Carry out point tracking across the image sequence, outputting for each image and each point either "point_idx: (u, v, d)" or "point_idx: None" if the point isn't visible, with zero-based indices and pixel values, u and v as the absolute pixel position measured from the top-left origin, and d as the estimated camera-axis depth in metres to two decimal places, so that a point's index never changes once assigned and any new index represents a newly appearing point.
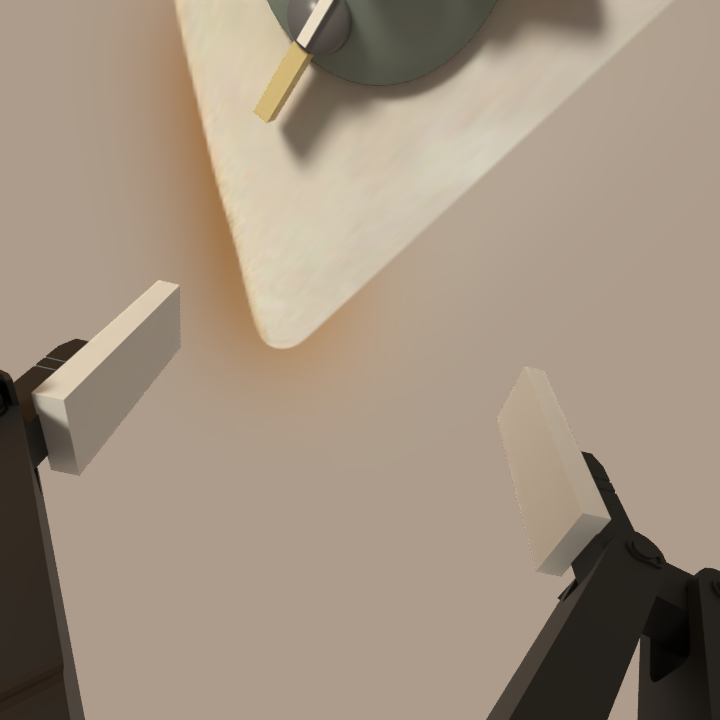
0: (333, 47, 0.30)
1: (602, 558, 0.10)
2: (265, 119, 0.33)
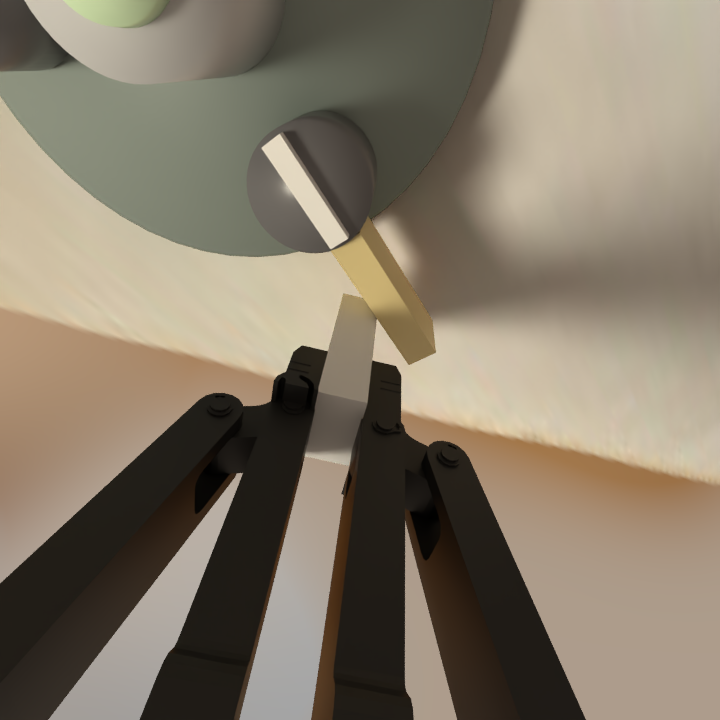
0: (367, 176, 0.14)
1: (360, 449, 0.11)
2: (429, 351, 0.17)
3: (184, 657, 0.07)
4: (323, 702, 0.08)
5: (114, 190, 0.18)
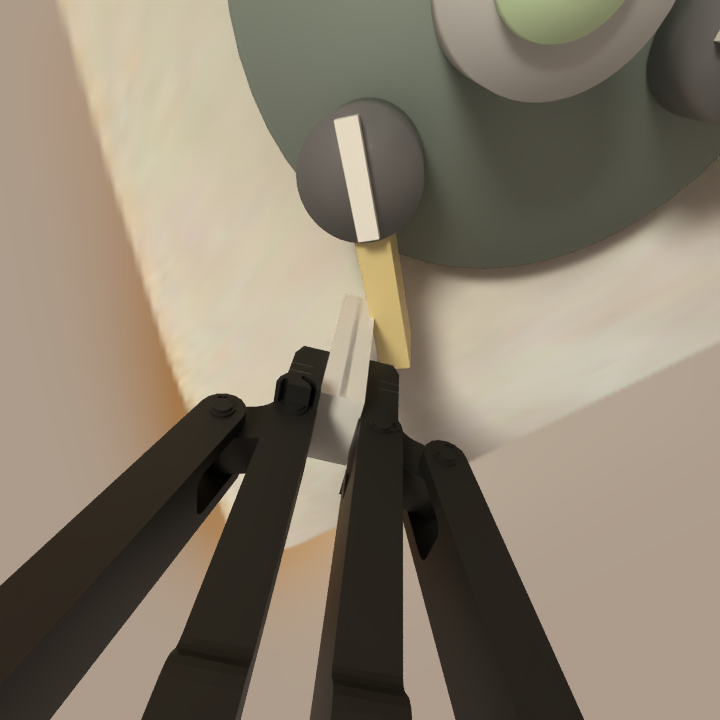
0: (420, 190, 0.14)
1: (357, 449, 0.11)
2: (404, 365, 0.18)
3: (186, 657, 0.07)
4: (322, 702, 0.08)
5: None
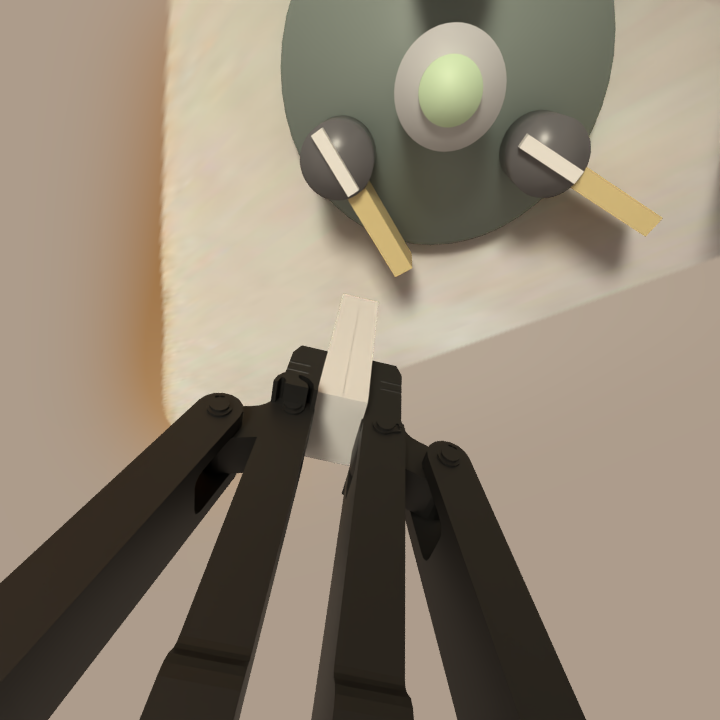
0: (370, 153, 0.24)
1: (360, 449, 0.11)
2: (408, 267, 0.28)
3: (184, 657, 0.07)
4: (323, 702, 0.08)
5: None
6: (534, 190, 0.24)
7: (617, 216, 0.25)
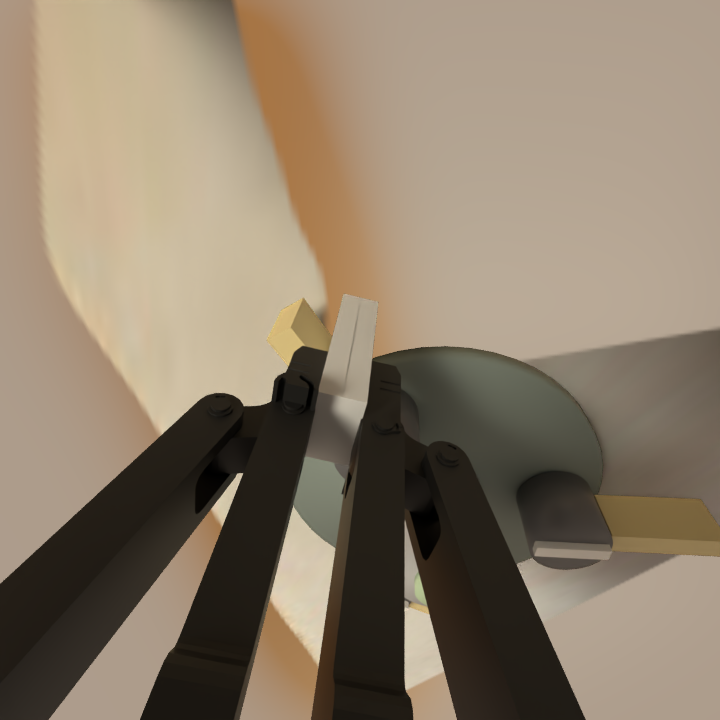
0: None
1: (359, 449, 0.11)
2: None
3: (184, 657, 0.07)
4: (323, 702, 0.08)
5: None
6: (570, 566, 0.23)
7: (674, 553, 0.23)
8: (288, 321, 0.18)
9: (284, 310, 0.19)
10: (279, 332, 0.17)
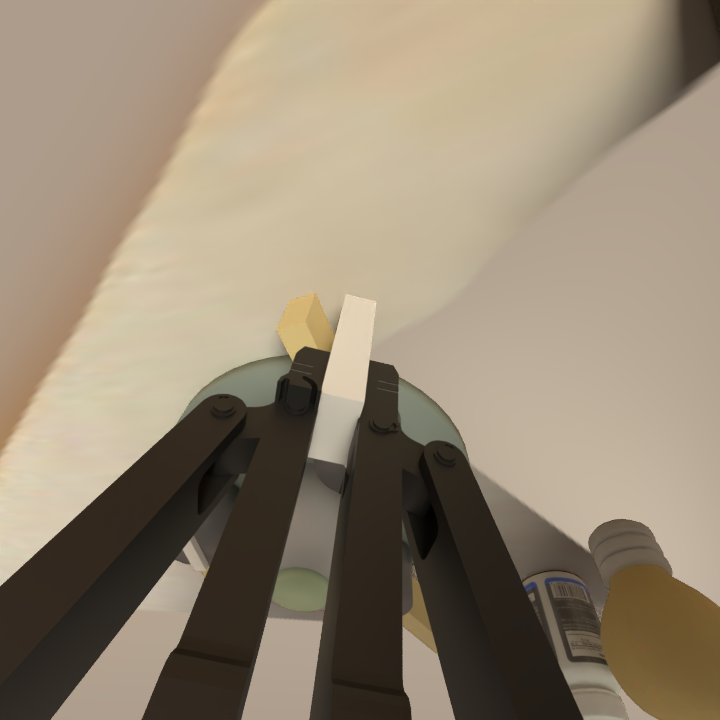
0: None
1: (356, 449, 0.11)
2: None
3: (186, 657, 0.07)
4: (321, 702, 0.08)
5: (243, 391, 0.23)
6: None
7: (419, 638, 0.29)
8: (300, 314, 0.17)
9: (293, 301, 0.19)
10: (291, 325, 0.17)
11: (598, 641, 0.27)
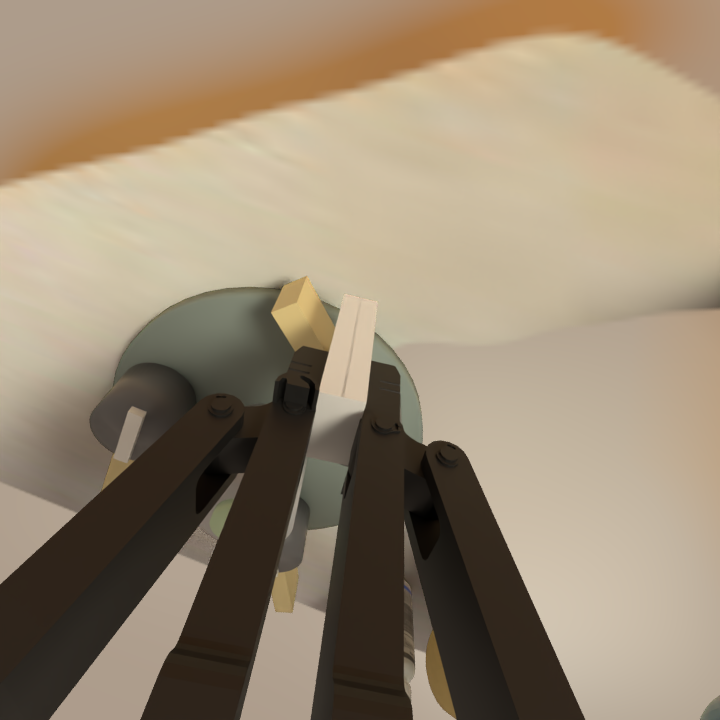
0: None
1: (359, 449, 0.11)
2: None
3: (185, 657, 0.07)
4: (322, 702, 0.08)
5: None
6: None
7: (272, 595, 0.30)
8: (293, 296, 0.18)
9: (287, 286, 0.20)
10: (284, 306, 0.18)
11: (411, 641, 0.33)
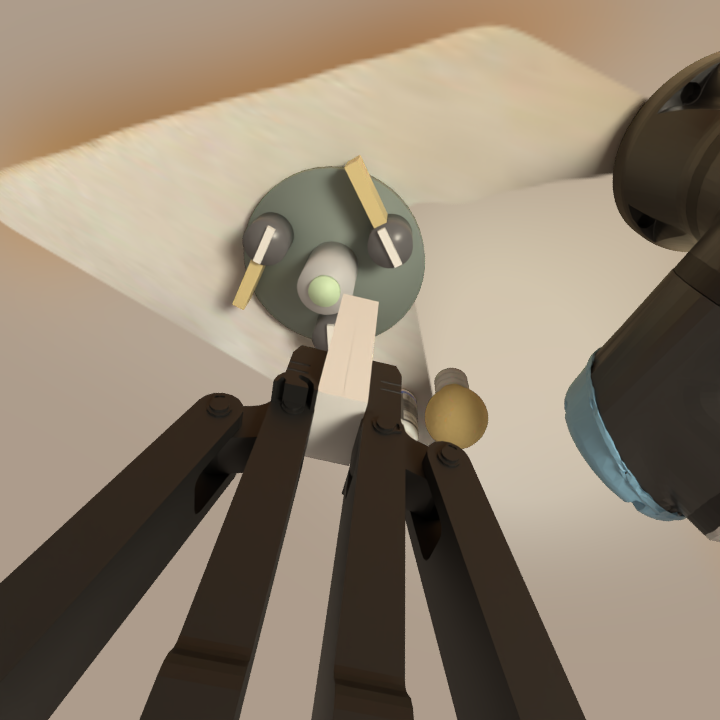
0: (280, 259, 0.41)
1: (360, 449, 0.11)
2: (241, 307, 0.44)
3: (184, 657, 0.07)
4: (323, 702, 0.08)
5: (347, 181, 0.40)
6: (315, 342, 0.45)
7: None
8: (354, 160, 0.37)
9: None
10: (351, 163, 0.36)
11: (416, 421, 0.50)
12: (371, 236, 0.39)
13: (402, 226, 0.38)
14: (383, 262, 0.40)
